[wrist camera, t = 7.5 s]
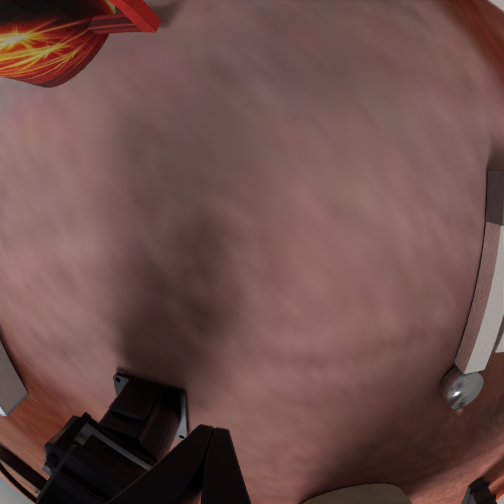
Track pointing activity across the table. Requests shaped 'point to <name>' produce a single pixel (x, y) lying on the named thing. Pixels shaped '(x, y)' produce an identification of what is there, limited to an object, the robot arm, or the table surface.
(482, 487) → the magazine
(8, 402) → the white low block
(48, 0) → the mug
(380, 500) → the plant pot
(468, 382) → the tong arm
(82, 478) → the robot arm
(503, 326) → the base
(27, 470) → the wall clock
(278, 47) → the table surface
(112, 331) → the table surface
